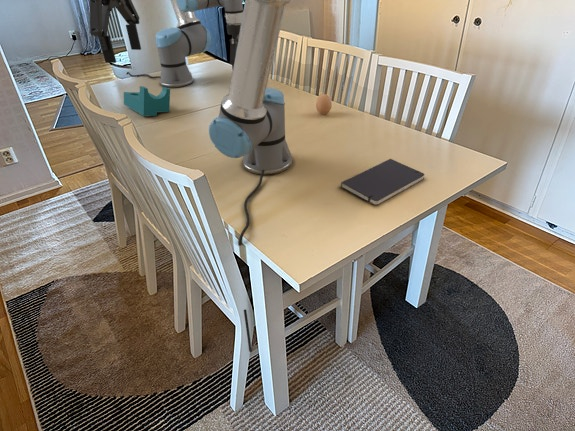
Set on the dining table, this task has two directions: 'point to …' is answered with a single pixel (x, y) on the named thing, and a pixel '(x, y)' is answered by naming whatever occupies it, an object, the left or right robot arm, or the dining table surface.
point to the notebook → (382, 181)
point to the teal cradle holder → (148, 101)
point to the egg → (323, 104)
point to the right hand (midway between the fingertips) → (124, 55)
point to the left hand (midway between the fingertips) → (240, 74)
